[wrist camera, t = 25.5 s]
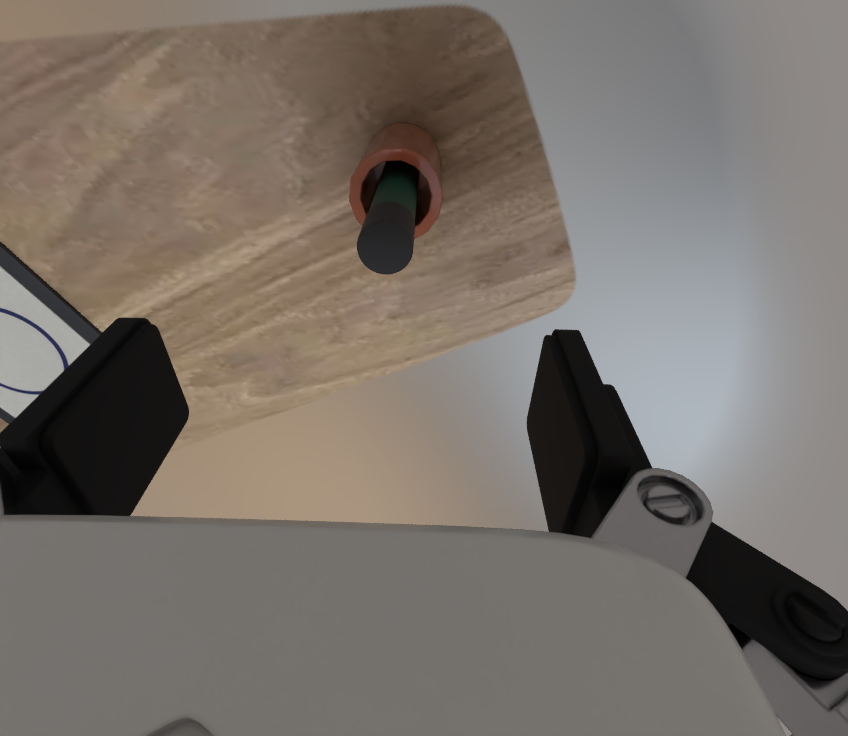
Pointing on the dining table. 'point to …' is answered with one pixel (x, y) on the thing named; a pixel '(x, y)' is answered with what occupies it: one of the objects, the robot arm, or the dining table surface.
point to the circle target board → (34, 335)
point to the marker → (390, 220)
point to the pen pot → (413, 150)
